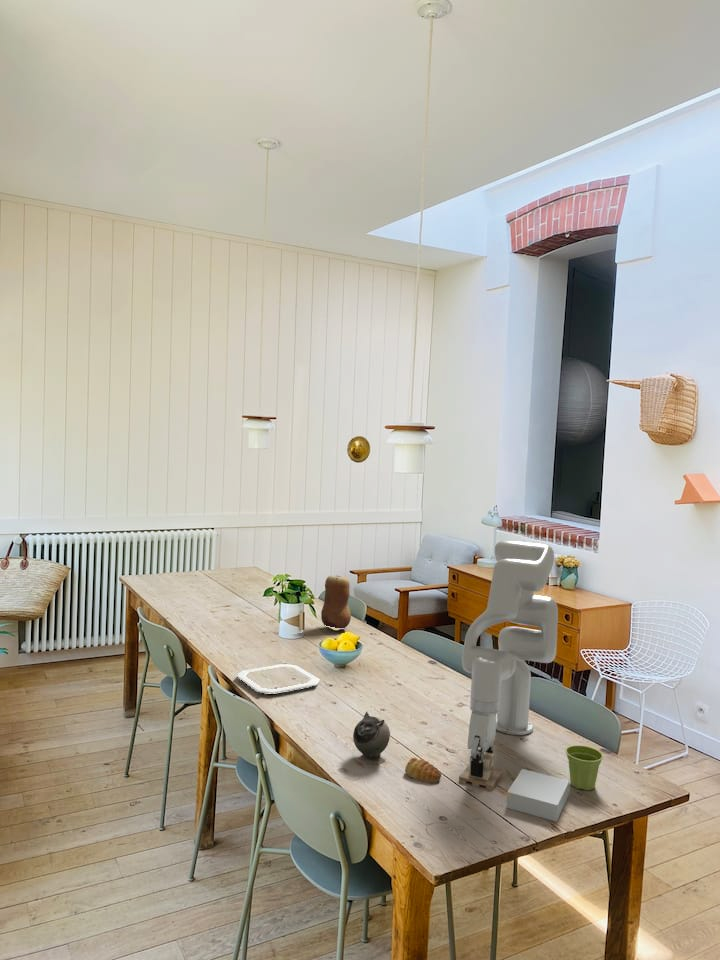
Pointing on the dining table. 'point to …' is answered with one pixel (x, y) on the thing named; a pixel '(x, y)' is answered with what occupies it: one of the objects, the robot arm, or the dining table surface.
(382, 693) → the dining table surface
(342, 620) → the butternut squash
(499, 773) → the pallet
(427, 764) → the pastry
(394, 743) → the dining table surface
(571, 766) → the plant pot
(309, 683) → the white square frame
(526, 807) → the dock
